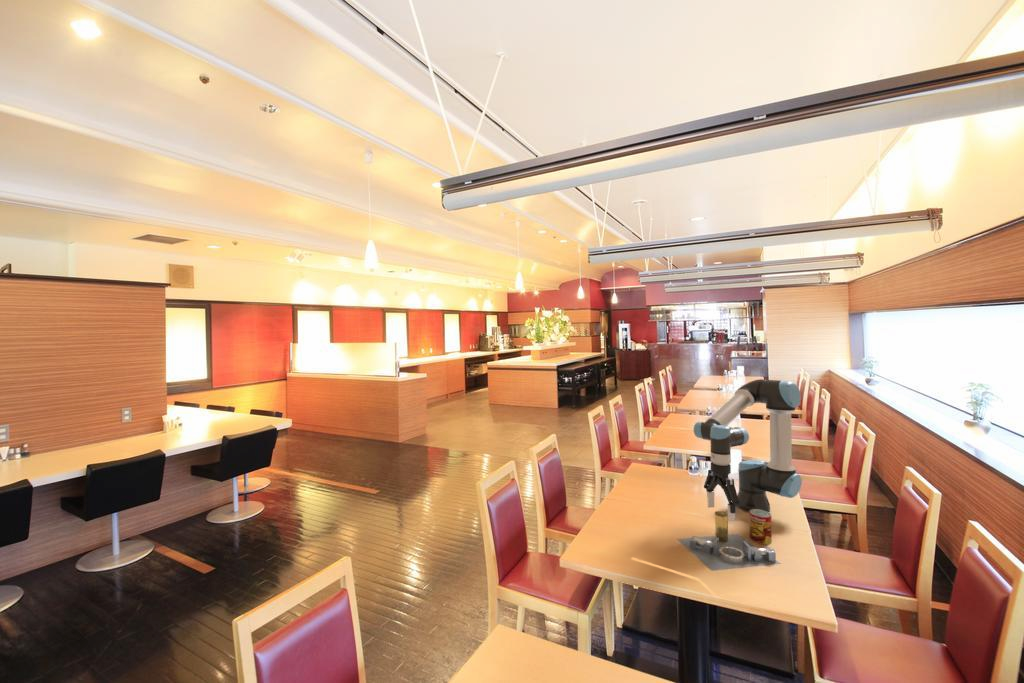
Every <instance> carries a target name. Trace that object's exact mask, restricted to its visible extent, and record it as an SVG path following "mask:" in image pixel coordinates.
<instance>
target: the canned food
mask: <svg viewBox="0 0 1024 683" xmlns="http://www.w3.org/2000/svg"><path fill="white" fill-rule="evenodd" d="M772 533H773V532H772V513H770V511H769V512H767V511H765V510H760V509H752V510H750V512H749V538H750V540H751V541H753V542H755V543H758V544H761V545H770V544H772V543H773V542H772V541H773V539H772Z"/></svg>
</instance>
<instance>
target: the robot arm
mask: <svg viewBox="0 0 1024 683" xmlns="http://www.w3.org/2000/svg"><path fill="white" fill-rule="evenodd" d="M801 394H802V393H801V390H800V389H799V386H798V385H797V384H796V383H795V382H792V381H789V380H778V379H777V380H776V379H775V380H774V379H762V378H761V379H759V378H758V379H754V380H751V381H749V382H747V383H745V384H743V385H741V386H740V387H738V389H737V390H736V391H734V394H733V396H732V397H731V398H730V399H728V401H727V402H726V403H725V404H724V405H722V406H721V407H720V408H719V409H718V410H717V411H716V412H714V413H713V414H712V415H711V416H710V417H708V418H707V420H706V421H705V422H703V421H697V422H695V424H694V426H693V433H694V434H693V435H694V436H695V437H696V438H698V439H701V440H702V439H703V440H704V441H705V440H706V441H710V461H711V462H710V469H707V476H706V479H705V481H704V484H703V488H704V489H705V490H706V493H707V495H706V496H707V508H715V488H716V487H717V486H720V488H721V489H722V490H723V492H724V495H725V497H726V499H727V502H728V503H727V514H728V522H731V521H732V522H734V521H736V508H738V509H739V510H742V511H745V512H749V513H750V510H752V509H760V510H765V511H767V512H769V513H770V512H771V504H770V501H769V498H768V496H767V492H768V493H771V494H774V495H778V496H780V497H785V498H788V499H789V498H790V499H792V498H795V497H796V496H797V495H798V494H799V492H800V491H801V488H802V482H803V479H802V476H801V475H800V474H798V473H796V472H797V471H796V470H797V468H796V467H795V466H794V465H793V464H792V463H793V462H792V460H793V459H792V458H793V455H792V453H793V452H792V449H793V447H792V413H794V412H795V411H796V408H798V407H799V406H800V405H801V401H802V395H801ZM754 404H765V409H766V410H767V411H768V413H769V460H770V461H769V462H768V463H766V462H765V461H763V460H759V459H758V460H756V459H747V460H742V461H739V464H738V469H737V471H738V492H737V490H736V487H735V486H736V485H735V480H734V478H729V475H730V474H731V472H732V471H731V470H732V466H731V460H732V458H731V450H732V449H731V448H733V447H738V446H743V445H746V444H747V443H748V442H749V440H750V439H749V438H750V435H749V432H748V431H747V430H746V429H745V428H744V427H741V426H740V427H737V426H735V427H730V426H729V425H730V424H731V423H732V422H733V421H734V420H735V419H736V418H737V417H738V416H739V415H740V414H741V413H742V412H743V411H745V410H746V408H748V407H751V406H754Z"/></svg>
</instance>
